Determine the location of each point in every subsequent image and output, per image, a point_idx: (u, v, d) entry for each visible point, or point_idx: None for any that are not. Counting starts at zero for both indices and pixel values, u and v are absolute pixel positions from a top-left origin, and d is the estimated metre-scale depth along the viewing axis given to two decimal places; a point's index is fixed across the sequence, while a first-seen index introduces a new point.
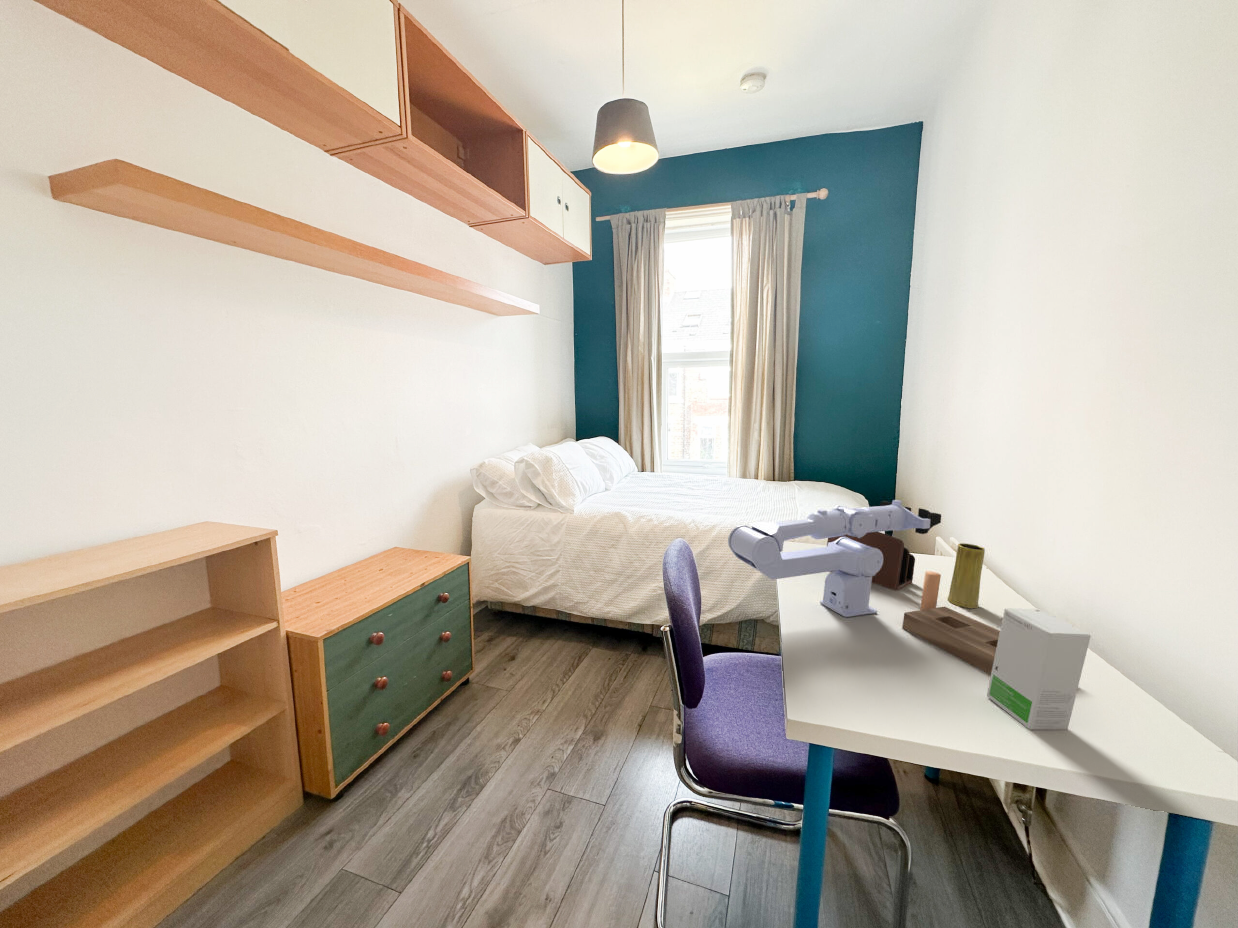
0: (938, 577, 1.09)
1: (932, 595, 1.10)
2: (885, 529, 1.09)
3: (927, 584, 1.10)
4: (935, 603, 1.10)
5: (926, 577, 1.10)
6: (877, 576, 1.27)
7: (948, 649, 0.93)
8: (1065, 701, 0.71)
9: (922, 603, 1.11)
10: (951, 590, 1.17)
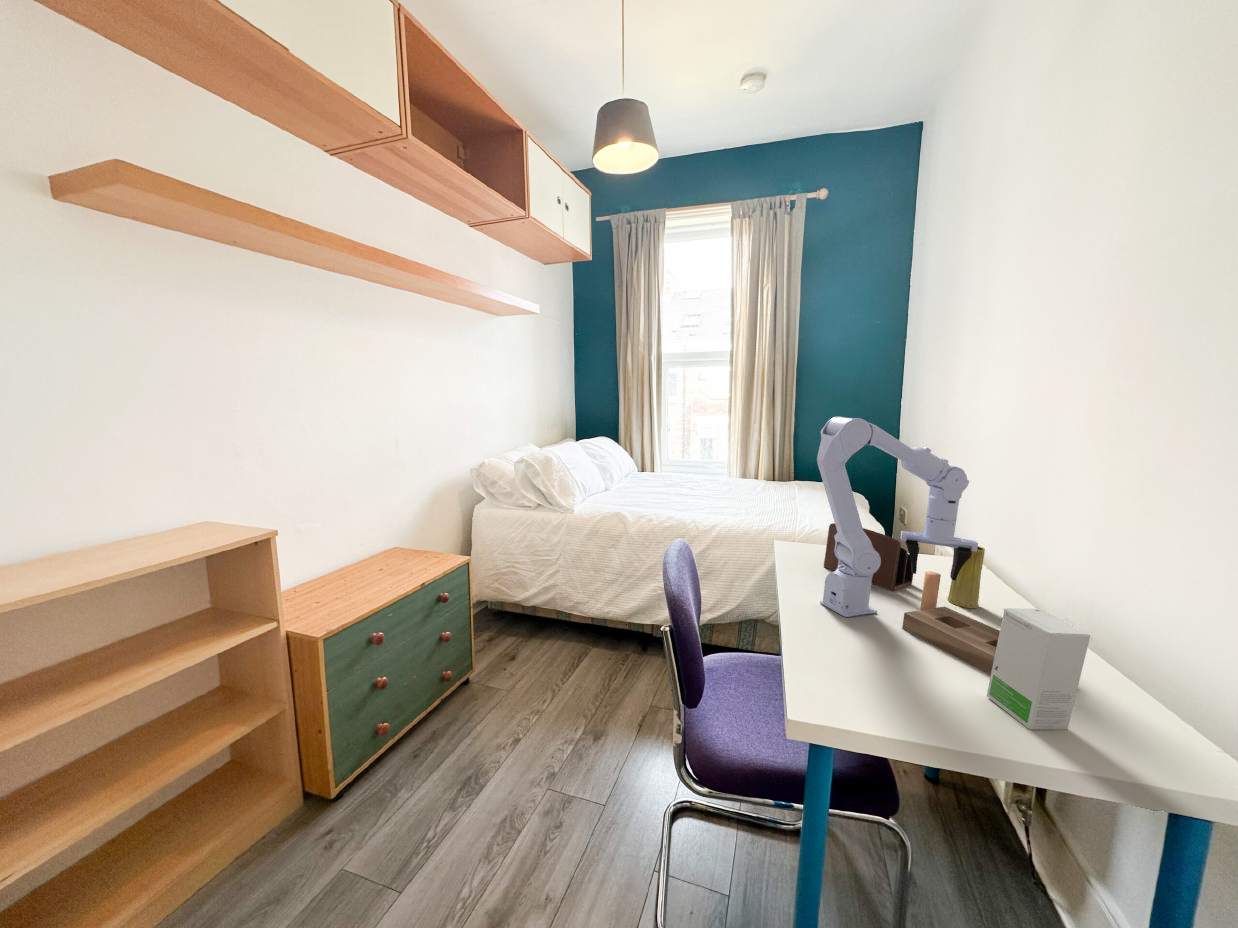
0: (938, 577, 1.09)
1: (932, 595, 1.10)
2: (938, 517, 1.06)
3: (927, 584, 1.10)
4: (935, 603, 1.10)
5: (926, 577, 1.10)
6: (874, 576, 1.27)
7: (948, 649, 0.93)
8: (1065, 701, 0.71)
9: (922, 603, 1.11)
10: (951, 590, 1.17)
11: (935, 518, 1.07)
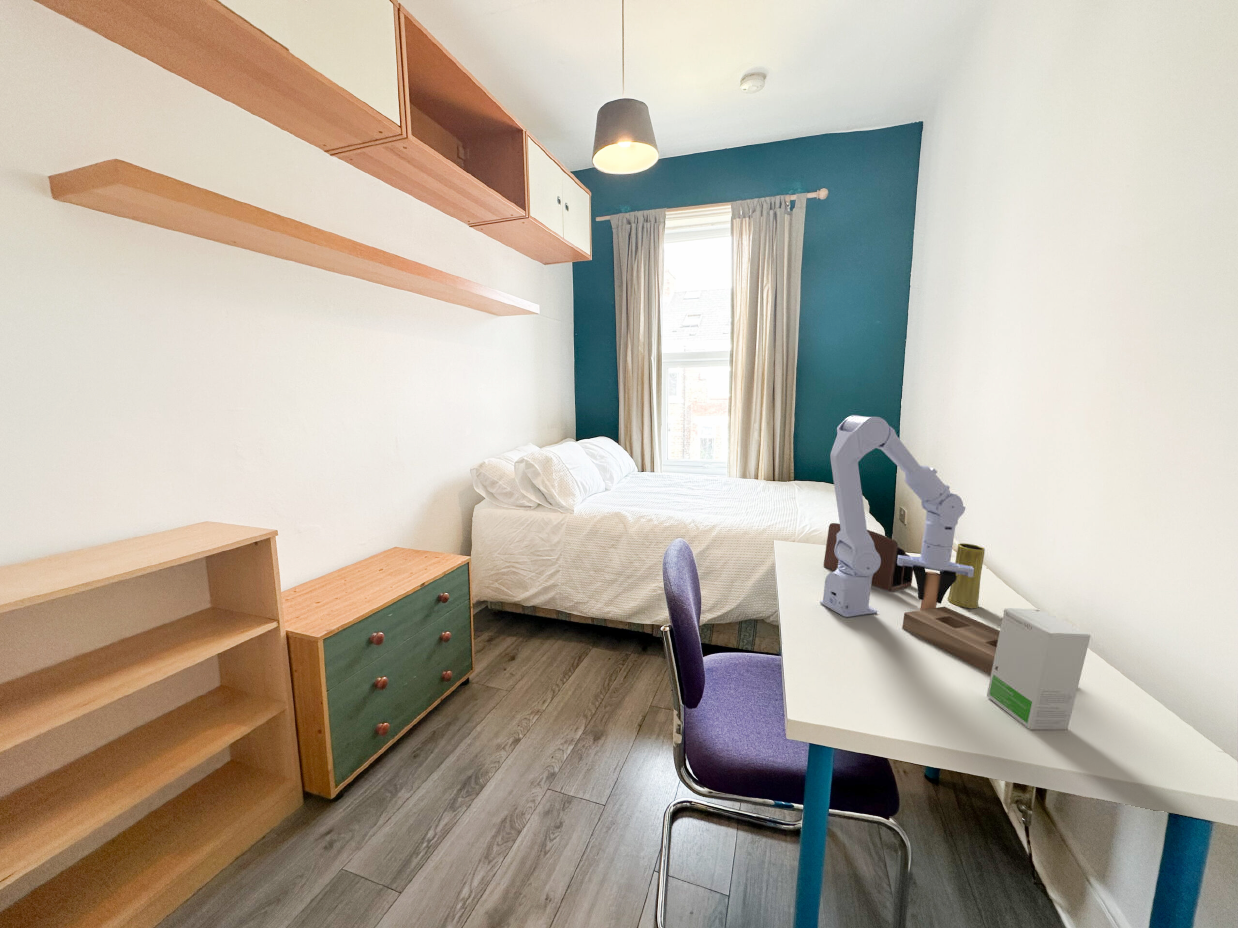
0: (938, 577, 1.09)
1: (932, 595, 1.10)
2: (935, 543, 1.07)
3: (927, 584, 1.10)
4: (935, 603, 1.10)
5: (926, 577, 1.10)
6: (872, 577, 1.26)
7: (948, 649, 0.93)
8: (1065, 701, 0.71)
9: (922, 603, 1.11)
10: (951, 590, 1.17)
11: (931, 544, 1.08)
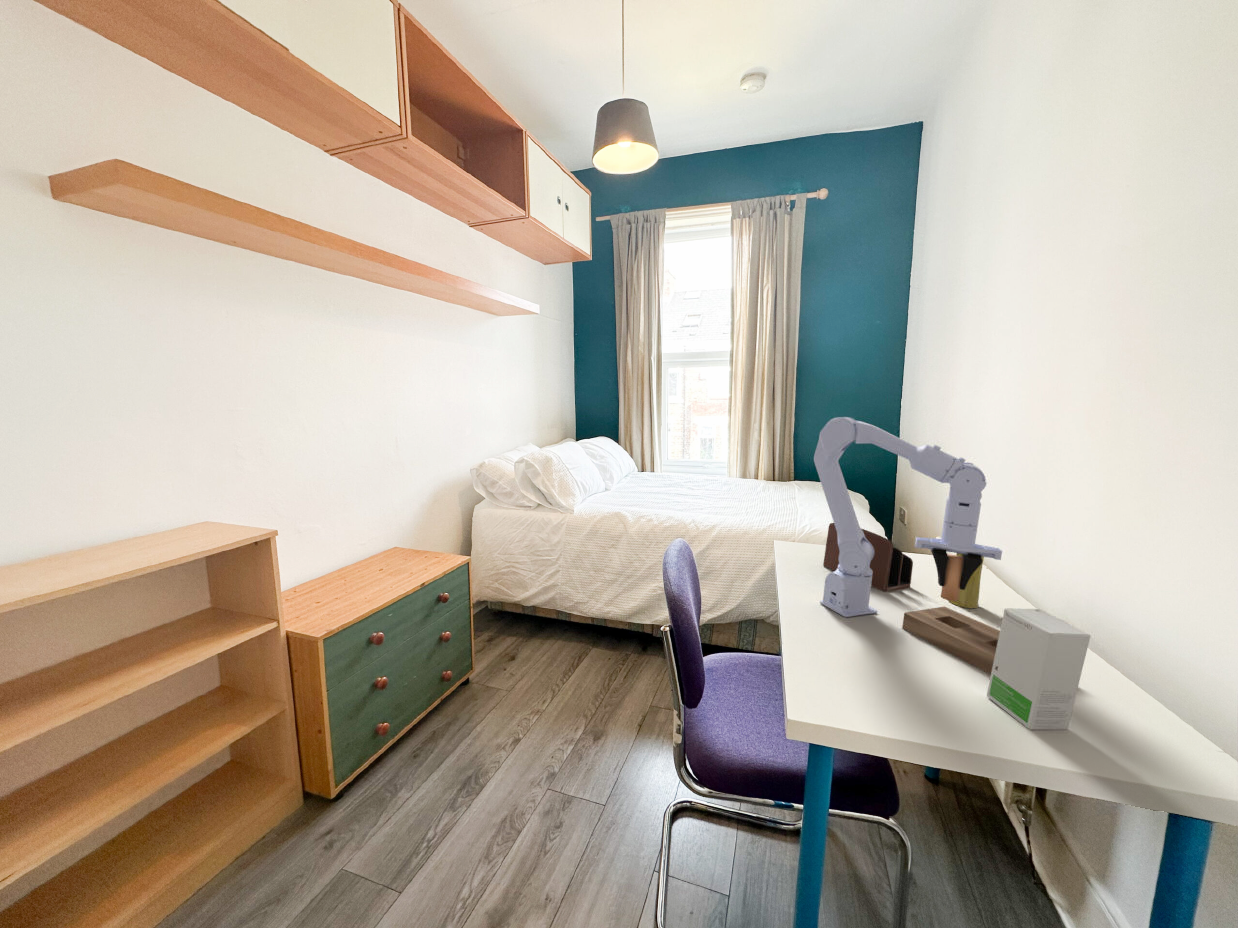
0: (961, 560, 0.98)
1: (955, 581, 0.99)
2: (949, 520, 0.98)
3: (949, 568, 0.99)
4: (958, 589, 0.99)
5: None
6: None
7: (948, 649, 0.93)
8: (1065, 701, 0.71)
9: (943, 590, 1.00)
10: None
11: (954, 523, 0.97)
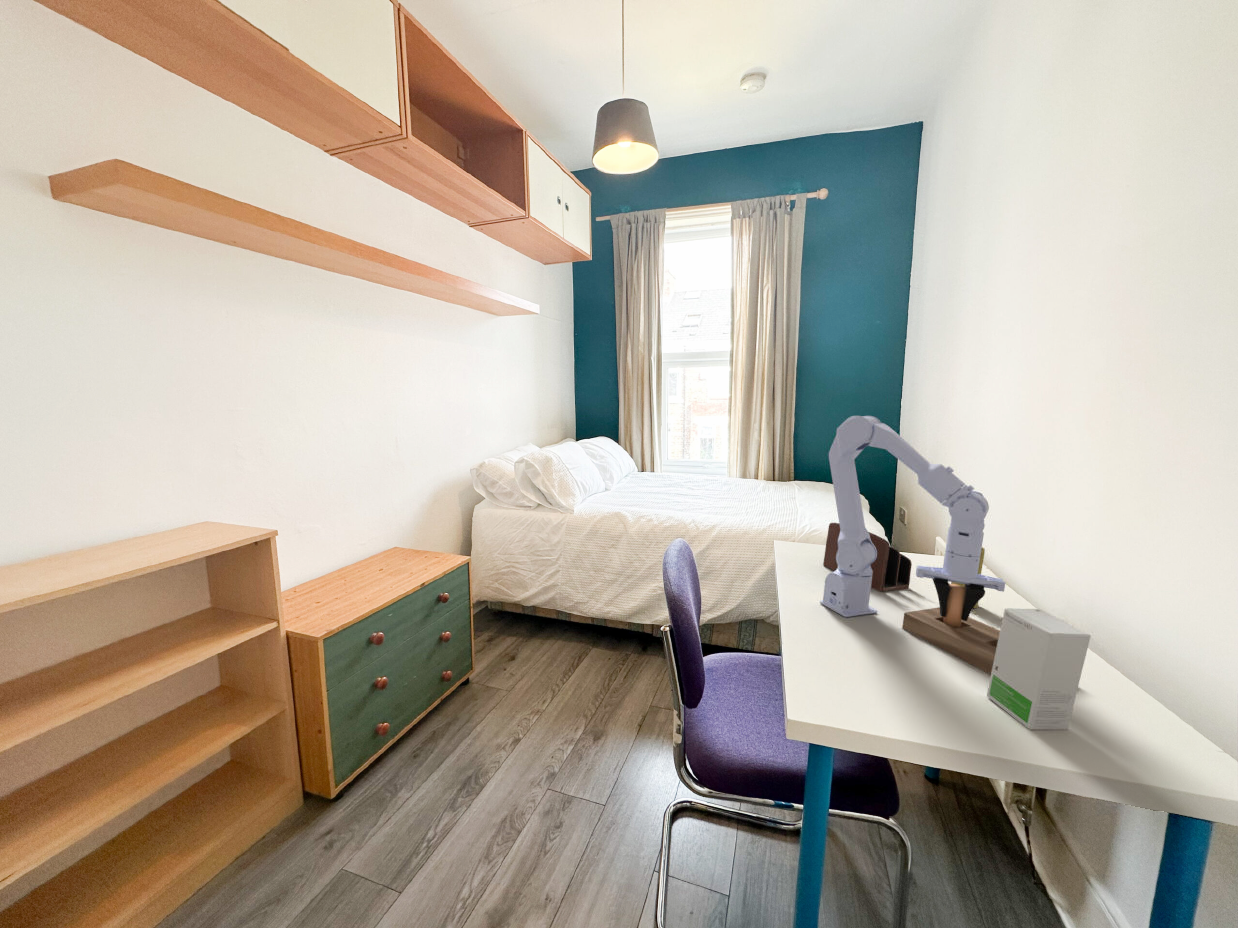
0: (963, 591, 0.96)
1: (957, 611, 0.97)
2: (949, 549, 0.96)
3: (951, 598, 0.97)
4: (960, 620, 0.97)
5: None
6: None
7: (948, 649, 0.93)
8: (1065, 701, 0.71)
9: (945, 620, 0.98)
10: None
11: (956, 553, 0.95)
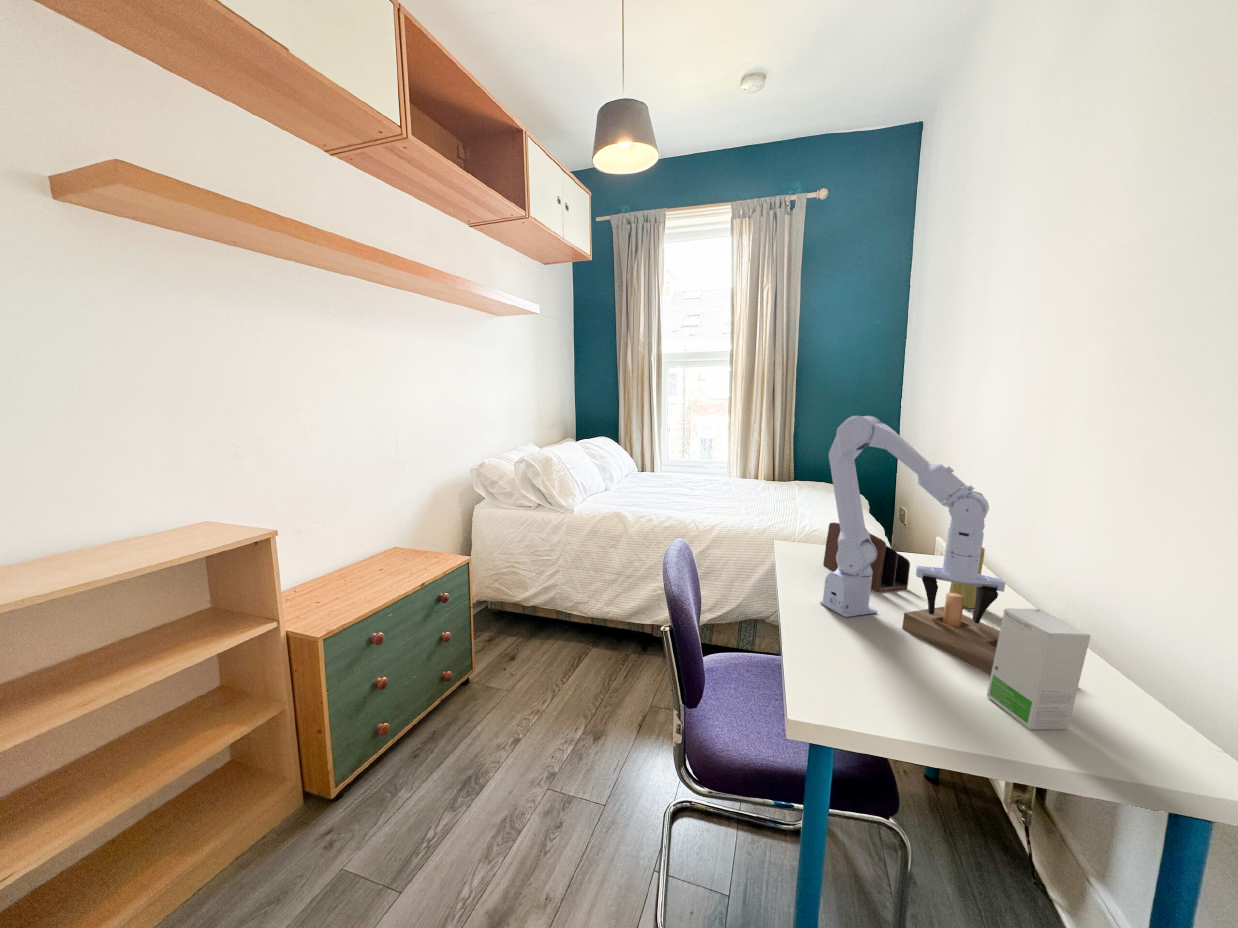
0: (962, 600, 0.96)
1: (955, 620, 0.97)
2: (949, 549, 0.96)
3: (949, 607, 0.97)
4: None
5: (947, 599, 0.98)
6: None
7: (948, 649, 0.93)
8: (1065, 701, 0.71)
9: None
10: (951, 590, 1.17)
11: (956, 553, 0.95)
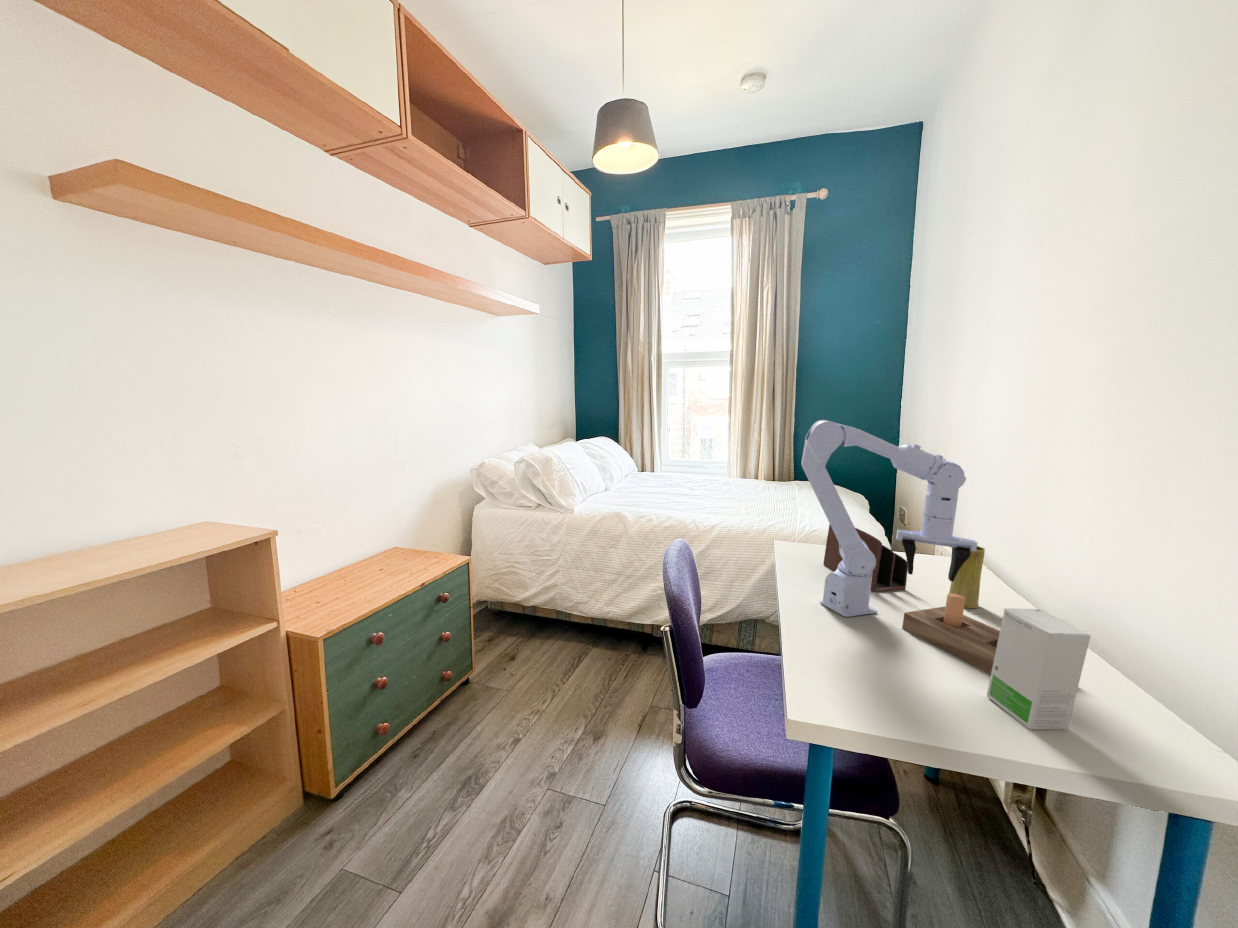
0: (963, 601, 0.96)
1: (956, 621, 0.97)
2: (931, 514, 1.02)
3: (950, 608, 0.97)
4: None
5: (948, 600, 0.98)
6: None
7: (948, 649, 0.93)
8: (1065, 701, 0.71)
9: None
10: (951, 590, 1.17)
11: (932, 516, 1.02)
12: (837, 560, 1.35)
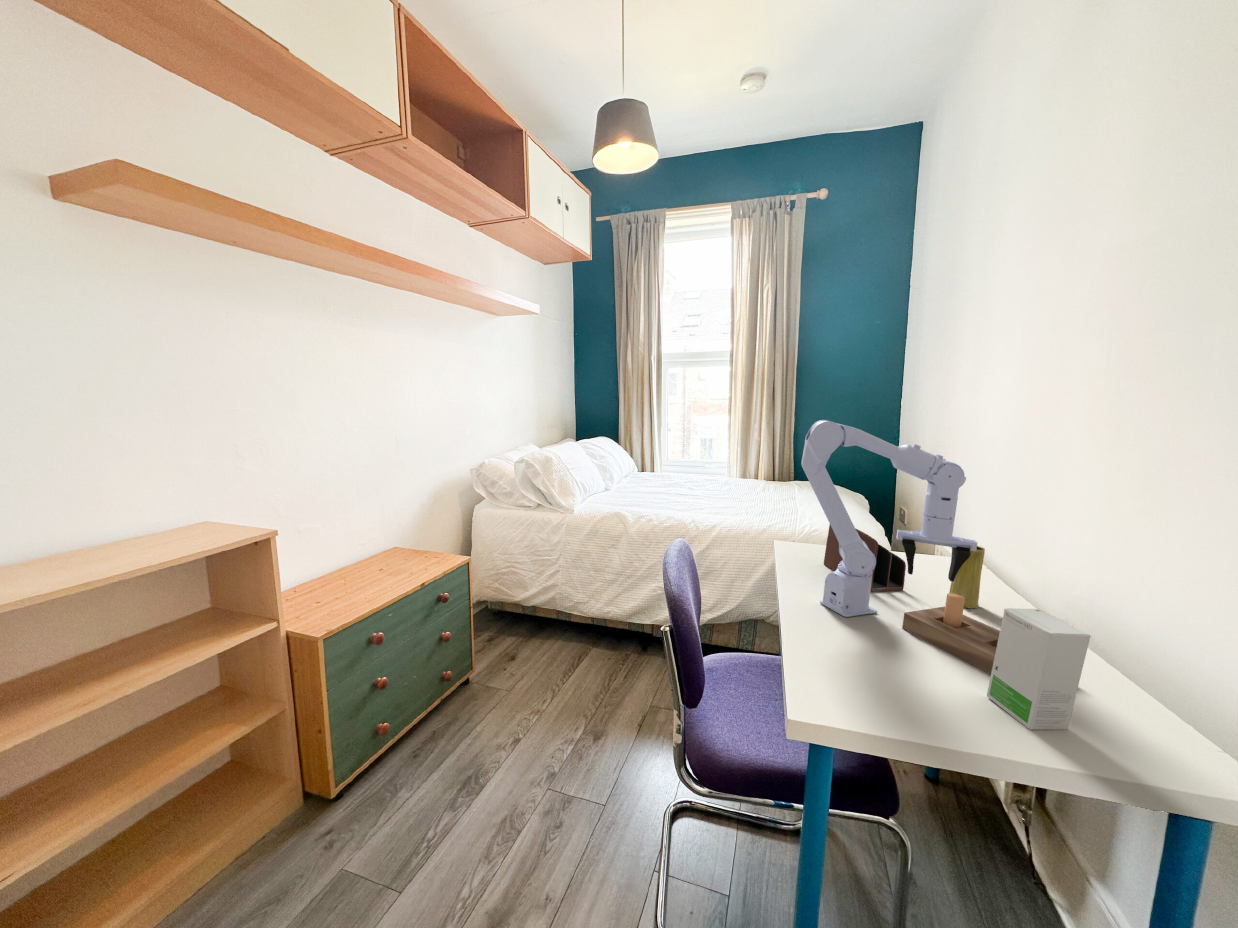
0: (962, 600, 0.96)
1: (956, 621, 0.97)
2: (931, 514, 1.02)
3: (950, 608, 0.97)
4: None
5: (948, 600, 0.98)
6: None
7: (948, 649, 0.93)
8: (1065, 701, 0.71)
9: None
10: (951, 590, 1.17)
11: (932, 516, 1.02)
12: (836, 560, 1.35)
